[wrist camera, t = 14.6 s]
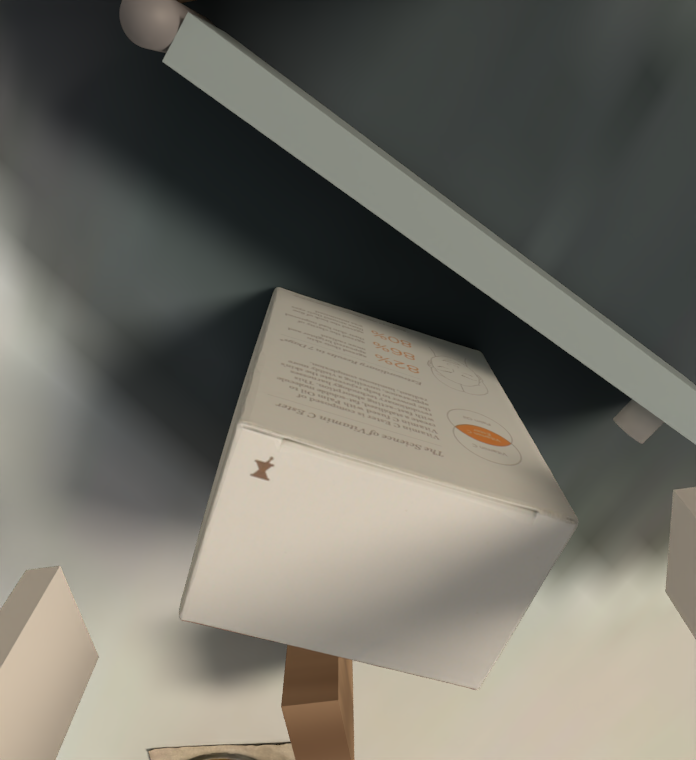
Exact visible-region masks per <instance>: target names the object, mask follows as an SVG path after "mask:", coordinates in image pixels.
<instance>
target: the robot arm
mask: <svg viewBox="0 0 696 760" xmlns="http://www.w3.org/2000/svg"><path fill="white" fill-rule="evenodd" d="M665 592H666V593H667V595H668V596H669V598H670V600H671V601H672V603H673V604H674V606H675V607H676V609H677V611H678V612H679V614H680V615H681V617H682V618H683V620H684V622H685V623H686V625H687V626H688V628H689V629H690V631H691V633H692V634H693V636H694V637H695V639H696V487H693V488H685V489H676V490H673V501H672V514H671V527H670V539H669V552H668V565H667V577H666V590H665ZM98 658H99V656H98V654H97V652H96V649H95V647H94V644H93V642H92V640H91V637H90V635H89V633H88V630H87V628H86V626H85V623H84V621H83V619H82V616H81V614H80V612H79V609H78V607H77V604H76V602H75V600H74V597H73V595H72V593H71V590H70V588H69V586H68V583H67V581H66V579H65V576H64V574H63V572H62V569H61V567H60V566H54V567H46V568H38V569H30V570H26V571H25V573H24V574H23V576H22V577H21V579H20V580H19V582H18V583H17V585H16V586H15V588H14V590H13V591H12V593H11V594H10V596H9V597H8V599H7V600H6V602H5V603H4V605H3V607H2V608H1V610H0V760H55V759H56V757H57V755H58V752H59V750H60V747H61V745H62V743H63V740H64V738H65V736H66V733H67V731H68V729H69V726H70V724H71V721H72V719H73V717H74V714H75V712H76V710H77V707H78V705H79V703H80V700H81V698H82V695H83V693H84V691H85V688H86V686H87V684H88V681H89V679H90V677H91V674H92V672H93V669H94V667H95V665H96V662H97V660H98Z"/></svg>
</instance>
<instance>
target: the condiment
mask: <svg viewBox="0 0 696 760" xmlns="http://www.w3.org/2000/svg"><path fill="white" fill-rule="evenodd" d="M148 752H149V755H150V759H151V760H295V756H294V752H293V749H292V745H291V743H289V744H284V745H261V746H254V745H248V746H243V745H240V746H238V745H218V746H199V747H180V748H172V747H171V748H161V749H154V750H151V751H148Z"/></svg>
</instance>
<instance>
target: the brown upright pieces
mask: <svg viewBox="0 0 696 760" xmlns="http://www.w3.org/2000/svg"><path fill="white" fill-rule="evenodd" d="M176 1H178V2H180V3H184V2H189V1H195V0H176ZM281 707H282V711H283V715H284V719H285V722H286V726H287V730H288V734H289V737H290V741H291V745H292V749H293V752H294V756H295V760H354V719H353V669H352V660H350V659H345V658H341V657H337V656H333V655H329V654H325V653H320V652H316V651H312V650H308V649H303V648H299V647H295V646H291V645H287V653H286V663H285V673H284V684H283V694H282V704H281Z"/></svg>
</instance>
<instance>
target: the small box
mask: <svg viewBox="0 0 696 760" xmlns="http://www.w3.org/2000/svg"><path fill="white" fill-rule="evenodd" d="M577 525H578V518H577V517H576V515H575V513H574V511H573V510H572V508H571V506H570V504H569V503H568V501H567V499H566V498H565V496H564V494H563V492H562V491H561V489H560V487H559V485H558V483H557V482H556V480H555V478H554V477H553V475H552V473H551V471H550V469H549V468H548V466H547V464H546V463H545V461H544V459H543V457H542V456H541V454H540V452H539V450H538V448H537V447H536V445H535V443H534V441H533V440H532V438H531V437H530V435H529V433H528V431H527V429H526V428H525V426H524V424H523V423H522V421H521V419H520V418H519V416H518V414H517V412H516V411H515V409H514V407H513V405H512V404H511V402H510V400H509V399H508V397H507V395H506V394H505V392H504V390H503V388H502V387H501V385H500V383H499V382H498V380H497V378H496V376H495V375H494V373H493V371H492V370H491V368H490V366H489V364H488V363H487V361H486V359H485V357H484V355H483V354H482V353H481V352H480V351H478V350H474V349H471V348H467V347H464V346H461V345H458V344H455V343H451V342H448V341H445V340H442V339H439V338H436V337H432V336H429V335H426V334H423V333H420V332H417V331H414V330H411V329H408V328H404V327H401V326H398V325H395V324H392V323H389V322H386V321H382V320H379V319H376V318H373V317H370V316H367V315H364V314H361V313H358V312H355V311H352V310H348V309H345V308H342V307H339V306H335V305H332V304H329V303H326V302H323V301H320V300H317V299H314V298H310V297H307V296H304V295H301V294H298V293H295V292H292V291H289V290H287V289H284V288H281V287H277V288H275V290H274V292H273V294H272V297H271V300H270V303H269V306H268V309H267V312H266V315H265V318H264V321H263V324H262V327H261V330H260V333H259V336H258V339H257V342H256V345H255V348H254V351H253V355H252V358H251V361H250V364H249V367H248V370H247V373H246V376H245V379H244V383H243V386H242V389H241V392H240V395H239V399H238V402H237V405H236V408H235V412H234V415H233V418H232V422H231V425H230V428H229V431H228V435H227V438H226V441H225V445H224V448H223V452H222V455H221V459H220V462H219V466H218V469H217V472H216V476H215V479H214V483H213V486H212V490H211V493H210V497H209V500H208V503H207V507H206V510H205V514H204V517H203V521H202V524H201V528H200V532H199V536H198V539H197V543H196V547H195V551H194V554H193V558H192V562H191V566H190V569H189V573H188V577H187V581H186V584H185V588H184V592H183V595H182V599H181V603H180V608H179V618H180V620H182V621H187V622H192V623H197V624H201V625H205V626H210V627H214V628H218V629H222V630H227V631H231V632H235V633H239V634H244V635H248V636H252V637H256V638H261V639H265V640H269V641H273V642H278V643H283V644H287V645H291V646H295V647H299V648H303V649H308V650H312V651H316V652H320V653H325V654H329V655H333V656H337V657H341V658H345V659H350V660H354V661H358V662H363V663H367V664H371V665H375V666H379V667H383V668H388V669H392V670H396V671H400V672H404V673H409V674H413V675H417V676H421V677H425V678H430V679H434V680H438V681H442V682H446V683H450V684H454V685H459V686H463V687H467V688H470V689H473V690H477V689H479V688H480V687H481V685H482V683H483V682H484V680H485V678H486V677H487V675H488V674H489V672H490V671H491V669H492V668H493V666H494V664H495V663H496V661H497V659H498V658H499V656H500V654H501V653H502V651H503V649H504V647H505V646H506V644H507V642H508V641H509V639H510V637H511V636H512V634H513V632H514V631H515V629H516V627H517V626H518V624H519V622H520V621H521V619H522V617H523V616H524V614H525V612H526V611H527V609H528V607H529V605H530V604H531V602H532V600H533V599H534V597H535V595H536V594H537V592H538V590H539V589H540V587H541V585H542V584H543V582H544V580H545V578H546V577H547V575H548V573H549V572H550V570H551V568H552V567H553V565H554V564H555V562H556V560H557V559H558V557H559V555H560V554H561V552H562V550H563V549H564V547H565V546H566V544H567V542H568V541H569V539H570V537H571V536H572V534H573V533H574V531H575V530H576V528H577Z"/></svg>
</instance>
